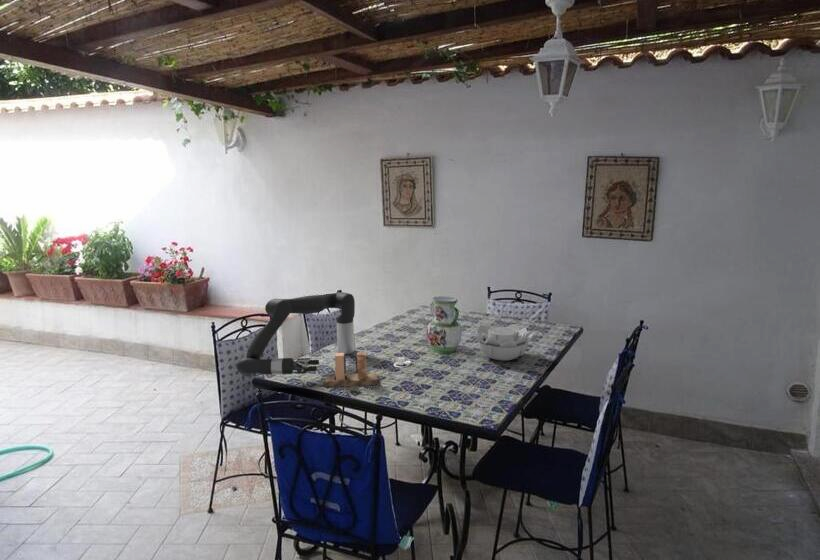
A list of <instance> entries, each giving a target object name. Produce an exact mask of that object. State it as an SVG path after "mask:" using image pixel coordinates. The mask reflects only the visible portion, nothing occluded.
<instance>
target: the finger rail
mask: <svg viewBox="0 0 820 560" xmlns="http://www.w3.org/2000/svg"><path fill="white" fill-rule="evenodd" d="M355 366H356V367H355V370H356V371H355V372H356V373H355V374H354V373H353V374H345V380H336V374H330V375H329V374H328V375H327V374H326V377H325V380H324V387H325V388H329V387H332V388H333V387H354V386H377V385H378V379H379V378H378V373H368V372H367V371H368V370H367V369H368V368H367V351H361V352H357V351H356V354H355Z"/></svg>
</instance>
